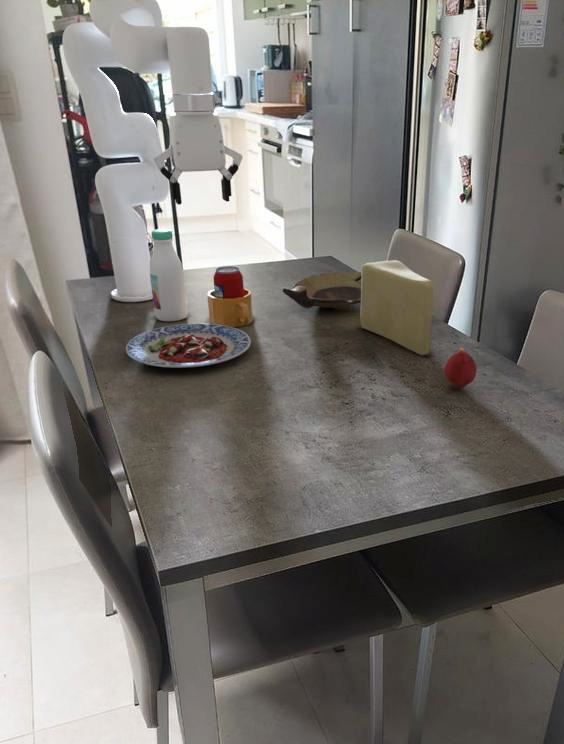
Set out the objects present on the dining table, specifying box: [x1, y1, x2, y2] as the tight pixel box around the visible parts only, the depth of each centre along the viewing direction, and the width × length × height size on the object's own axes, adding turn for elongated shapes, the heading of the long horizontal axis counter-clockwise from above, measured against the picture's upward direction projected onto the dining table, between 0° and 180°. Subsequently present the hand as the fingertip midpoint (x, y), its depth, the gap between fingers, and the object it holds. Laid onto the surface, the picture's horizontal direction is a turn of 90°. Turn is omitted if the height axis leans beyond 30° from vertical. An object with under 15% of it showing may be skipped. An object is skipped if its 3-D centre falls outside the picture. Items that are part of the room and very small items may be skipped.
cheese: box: [360, 259, 434, 356], centre depth 150 cm, size 22×10×15 cm, turn 24°
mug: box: [207, 287, 254, 328], centre depth 162 cm, size 14×10×6 cm
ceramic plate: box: [125, 322, 252, 369], centre depth 146 cm, size 26×26×3 cm
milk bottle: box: [150, 228, 189, 322], centre depth 162 cm, size 8×8×20 cm
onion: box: [444, 347, 478, 390], centre depth 129 cm, size 6×6×8 cm
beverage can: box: [213, 265, 245, 299], centre depth 162 cm, size 7×7×12 cm
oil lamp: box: [281, 271, 362, 309], centre depth 174 cm, size 22×30×8 cm
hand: (202, 201), depth 140 cm, fingers open, 9 cm apart
